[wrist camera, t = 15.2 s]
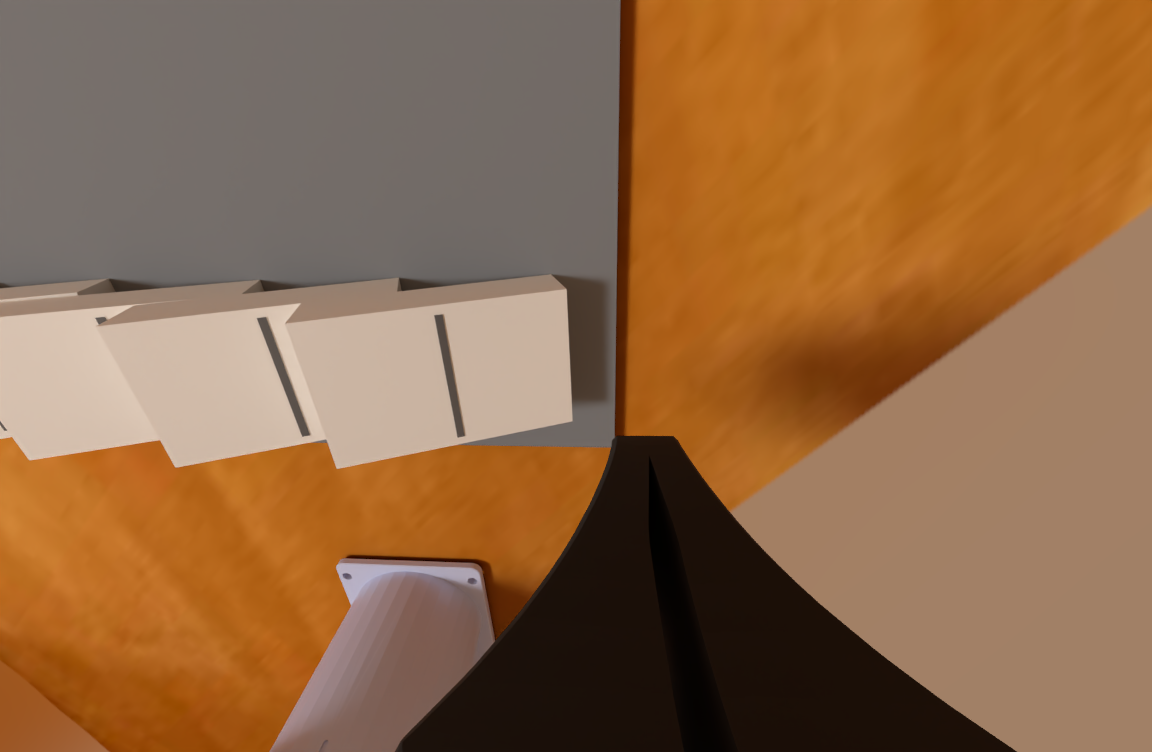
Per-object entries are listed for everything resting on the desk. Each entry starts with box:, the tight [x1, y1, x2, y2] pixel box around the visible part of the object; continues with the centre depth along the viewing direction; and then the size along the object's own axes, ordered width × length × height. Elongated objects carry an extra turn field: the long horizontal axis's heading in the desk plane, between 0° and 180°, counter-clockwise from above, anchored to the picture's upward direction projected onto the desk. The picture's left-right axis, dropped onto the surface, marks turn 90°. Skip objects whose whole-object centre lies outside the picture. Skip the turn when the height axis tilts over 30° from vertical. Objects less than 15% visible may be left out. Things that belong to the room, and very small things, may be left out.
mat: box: [0, 0, 620, 447], centre depth 17 cm, size 16×26×1 cm, turn 92°
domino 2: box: [96, 278, 402, 467], centre depth 15 cm, size 2×5×8 cm
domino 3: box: [285, 274, 573, 469], centre depth 15 cm, size 2×5×8 cm
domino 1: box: [0, 280, 264, 460], centre depth 16 cm, size 2×5×8 cm
